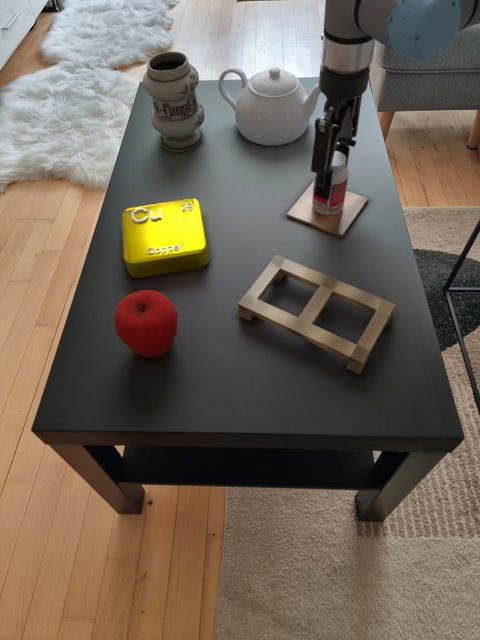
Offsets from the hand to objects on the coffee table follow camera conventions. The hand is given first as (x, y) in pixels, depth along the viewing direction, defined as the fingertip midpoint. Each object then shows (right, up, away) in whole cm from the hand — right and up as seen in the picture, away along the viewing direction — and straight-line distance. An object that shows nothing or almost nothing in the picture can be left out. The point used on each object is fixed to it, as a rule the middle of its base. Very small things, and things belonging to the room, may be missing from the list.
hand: (330, 186), depth 91 cm
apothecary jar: (-31, +17, +21) cm, 41 cm away
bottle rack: (-5, -25, -11) cm, 27 cm away
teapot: (-10, +20, +22) cm, 31 cm away
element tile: (-31, -11, +1) cm, 33 cm away
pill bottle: (0, -3, +4) cm, 5 cm away
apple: (-31, -29, -12) cm, 45 cm away
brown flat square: (0, -3, +4) cm, 6 cm away
